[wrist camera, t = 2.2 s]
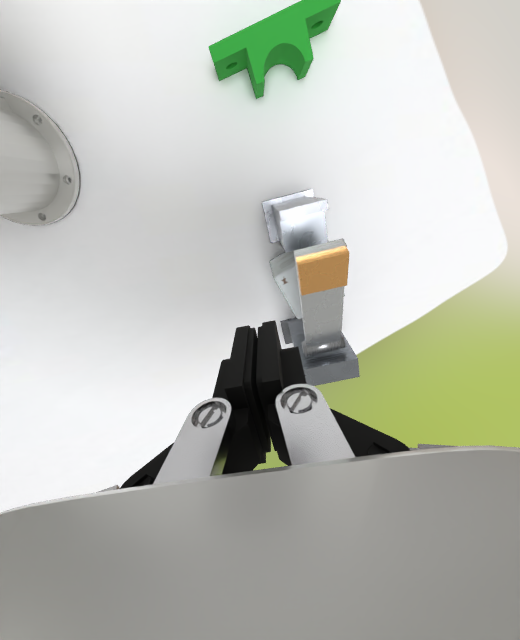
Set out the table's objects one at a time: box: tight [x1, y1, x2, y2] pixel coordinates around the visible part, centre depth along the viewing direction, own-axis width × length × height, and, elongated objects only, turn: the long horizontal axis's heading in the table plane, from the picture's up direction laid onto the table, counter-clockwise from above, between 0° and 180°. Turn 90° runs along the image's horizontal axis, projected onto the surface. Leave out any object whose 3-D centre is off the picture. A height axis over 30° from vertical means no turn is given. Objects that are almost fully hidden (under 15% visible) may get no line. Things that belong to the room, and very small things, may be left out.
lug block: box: [262, 189, 328, 253], centre depth 28 cm, size 5×6×11 cm
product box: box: [270, 251, 345, 319], centre depth 32 cm, size 6×6×7 cm
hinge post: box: [281, 318, 359, 386], centre depth 34 cm, size 4×8×12 cm, turn 103°
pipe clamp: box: [209, 0, 341, 99], centre depth 25 cm, size 11×4×5 cm, turn 110°
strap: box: [294, 239, 349, 356], centre depth 24 cm, size 14×4×2 cm, turn 14°
